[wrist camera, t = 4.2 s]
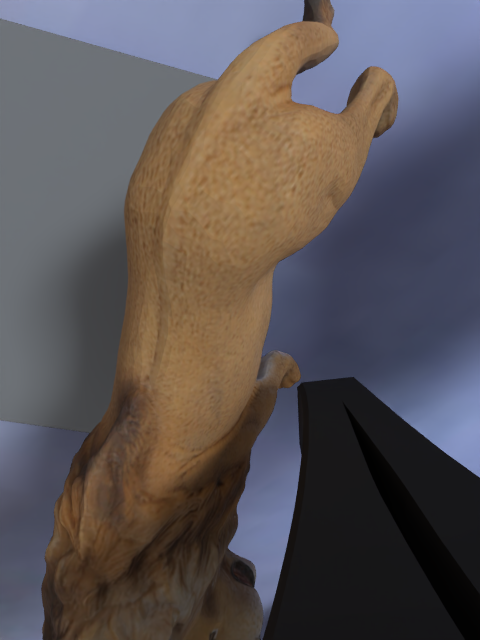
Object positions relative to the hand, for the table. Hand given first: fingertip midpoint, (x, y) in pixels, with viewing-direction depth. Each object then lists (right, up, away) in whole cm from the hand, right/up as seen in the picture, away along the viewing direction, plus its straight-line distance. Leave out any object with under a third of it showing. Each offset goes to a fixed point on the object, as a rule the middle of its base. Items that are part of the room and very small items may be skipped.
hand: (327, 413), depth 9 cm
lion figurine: (-1, +3, +3) cm, 5 cm away
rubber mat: (-7, +4, +4) cm, 9 cm away
